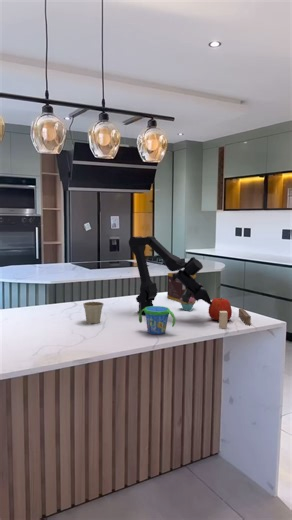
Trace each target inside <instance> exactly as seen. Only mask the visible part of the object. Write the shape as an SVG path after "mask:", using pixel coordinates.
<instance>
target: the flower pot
mask: <svg viewBox="0 0 292 520" xmlns="http://www.w3.org/2000/svg"><path fill="white" fill-rule="evenodd" d="M82 306H83V308H84V313H85V314H84V315H85V321H86V323H87V324H91V325H92V324H99V323H100V322H101V319H102V318H101V316H102V310H103V307H104V303H103V302H100V301H88V302H83V304H82Z"/></svg>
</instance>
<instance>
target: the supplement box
mask: <svg viewBox="0 0 292 520" xmlns="http://www.w3.org/2000/svg"><path fill="white" fill-rule="evenodd" d="M177 272H178V271H174V272H168V273H167V293H166V294H167V296H166V297H167V299H170V300H172V301H175V302H178V303H179V300H180V298H182V296H183V294H184V292H185V290H186V289H185V286H184V285H183V284H182V283H181V282H180V281H179V280H178V279H177V278H176V279H175V280H174V281H173V276H172V275H173V273H177ZM191 276H192V275H191ZM192 277H193V278H194V279H195V280H196V281H197V275H196V274H195V275H194V276H192ZM191 297H192V298H194V295H193V296H192V295H191Z"/></svg>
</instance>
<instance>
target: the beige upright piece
mask: <svg viewBox="0 0 292 520" xmlns="http://www.w3.org/2000/svg"><path fill="white" fill-rule="evenodd" d="M227 314H228V313H227V311H219V320H217V322H218V327H219V328H220V329H228V320H227Z"/></svg>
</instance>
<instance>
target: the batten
mask: <svg viewBox="0 0 292 520" xmlns="http://www.w3.org/2000/svg"><path fill="white" fill-rule="evenodd" d="M251 317H252V316H251V315H250V314H249V313H248V312H247V311H246V310H245V309H244V308H238V318H239V319H240V320H241V321H242V322H243V323H244V325H246V326H251V321H252V320H251V319H252V318H251Z"/></svg>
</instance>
